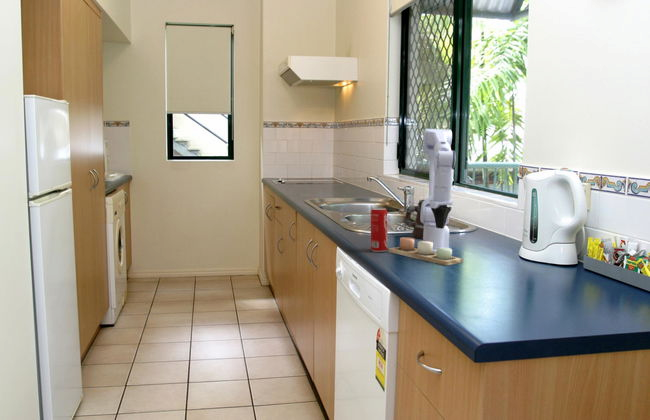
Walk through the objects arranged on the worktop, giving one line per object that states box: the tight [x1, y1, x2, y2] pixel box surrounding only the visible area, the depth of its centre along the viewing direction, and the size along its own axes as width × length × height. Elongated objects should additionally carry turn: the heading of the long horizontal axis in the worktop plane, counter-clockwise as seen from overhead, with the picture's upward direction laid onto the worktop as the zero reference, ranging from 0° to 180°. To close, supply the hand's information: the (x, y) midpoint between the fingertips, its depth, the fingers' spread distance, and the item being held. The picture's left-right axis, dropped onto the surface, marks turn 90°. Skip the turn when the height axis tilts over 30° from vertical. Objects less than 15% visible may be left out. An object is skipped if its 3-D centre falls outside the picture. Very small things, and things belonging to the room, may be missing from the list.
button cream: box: [417, 240, 433, 254], centre depth 207 cm, size 5×5×4 cm
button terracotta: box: [399, 236, 416, 250], centre depth 213 cm, size 5×5×4 cm
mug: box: [403, 199, 425, 240], centre depth 246 cm, size 16×12×15 cm
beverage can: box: [370, 207, 388, 253], centre depth 214 cm, size 6×6×15 cm
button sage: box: [435, 247, 453, 260], centre depth 201 cm, size 5×5×4 cm
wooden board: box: [387, 246, 464, 266], centre depth 207 cm, size 9×25×1 cm, turn 41°
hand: (439, 228), depth 204 cm, fingers closed
